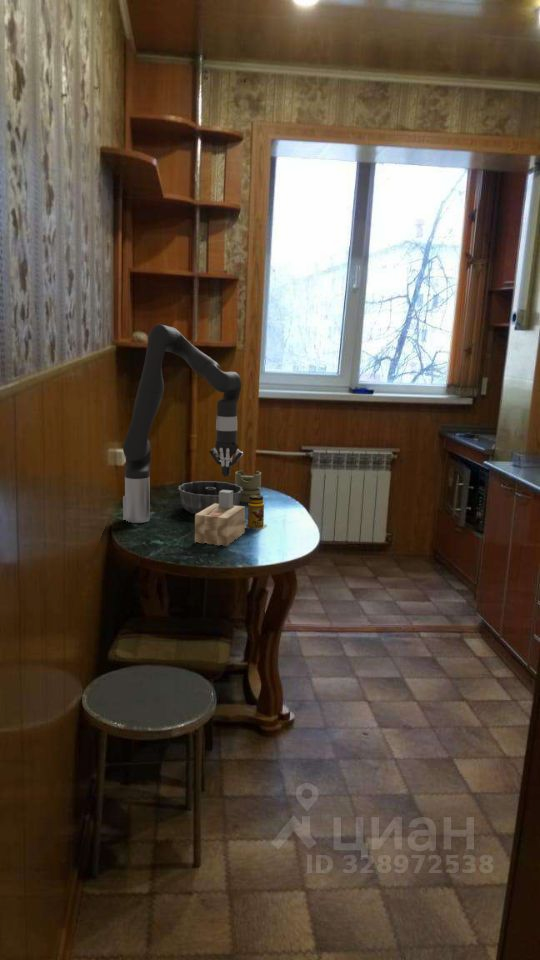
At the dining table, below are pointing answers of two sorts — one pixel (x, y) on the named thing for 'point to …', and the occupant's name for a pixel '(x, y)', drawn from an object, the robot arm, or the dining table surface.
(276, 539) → the dining table surface
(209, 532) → the oak block
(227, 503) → the peg grey
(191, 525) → the dining table surface
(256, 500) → the condiment
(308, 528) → the dining table surface
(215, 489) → the bundt pan
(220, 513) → the peg terracotta
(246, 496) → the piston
